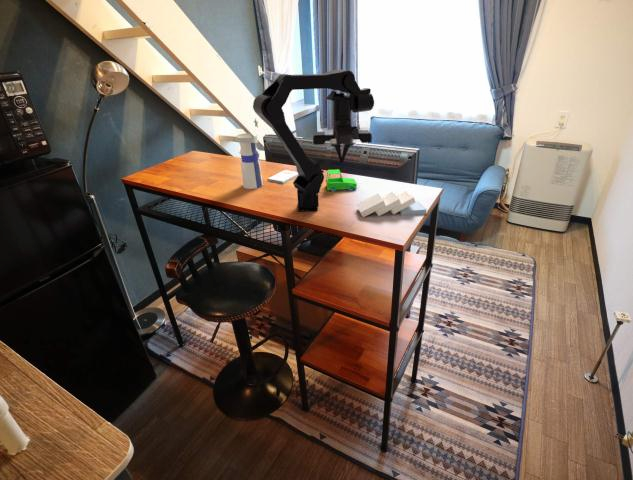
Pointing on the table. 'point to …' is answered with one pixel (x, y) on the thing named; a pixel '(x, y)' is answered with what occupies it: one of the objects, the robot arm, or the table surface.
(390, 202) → the tile
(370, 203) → the tile
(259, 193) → the table surface
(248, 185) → the water bottle
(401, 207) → the tile
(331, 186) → the toy car
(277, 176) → the external hard drive
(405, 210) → the tile
